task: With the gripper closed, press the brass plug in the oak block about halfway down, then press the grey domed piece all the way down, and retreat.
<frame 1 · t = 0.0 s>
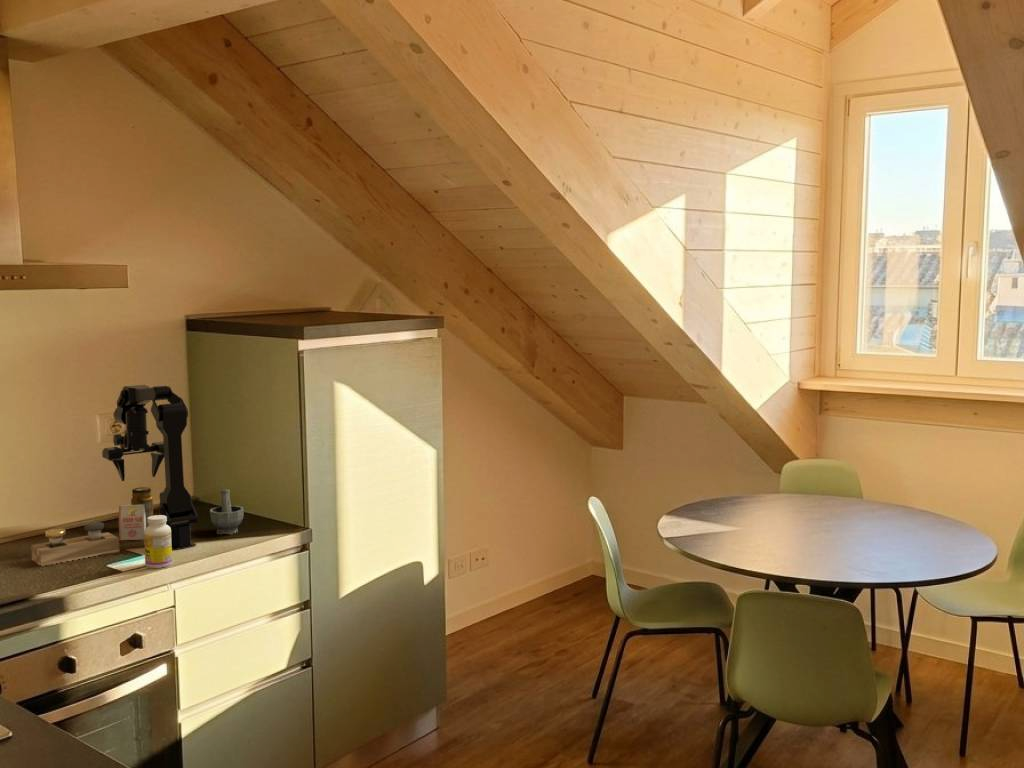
hand: (138, 478, 290), 15 cm above the counter, tool pointing down, fingers open, 9 cm apart
oak block: (76, 556, 261), on the counter
mortar and pestle: (227, 532, 287), on the counter
condiment: (143, 529, 290), on the counter
white printed box: (133, 540, 278), on the counter
supplement bottle: (158, 566, 253), on the counter
brass plug: (55, 538, 257), point 6 cm above the counter, slide at 0.0 cm
grey domed piece: (94, 532, 264), point 6 cm above the counter, slide at 0.0 cm
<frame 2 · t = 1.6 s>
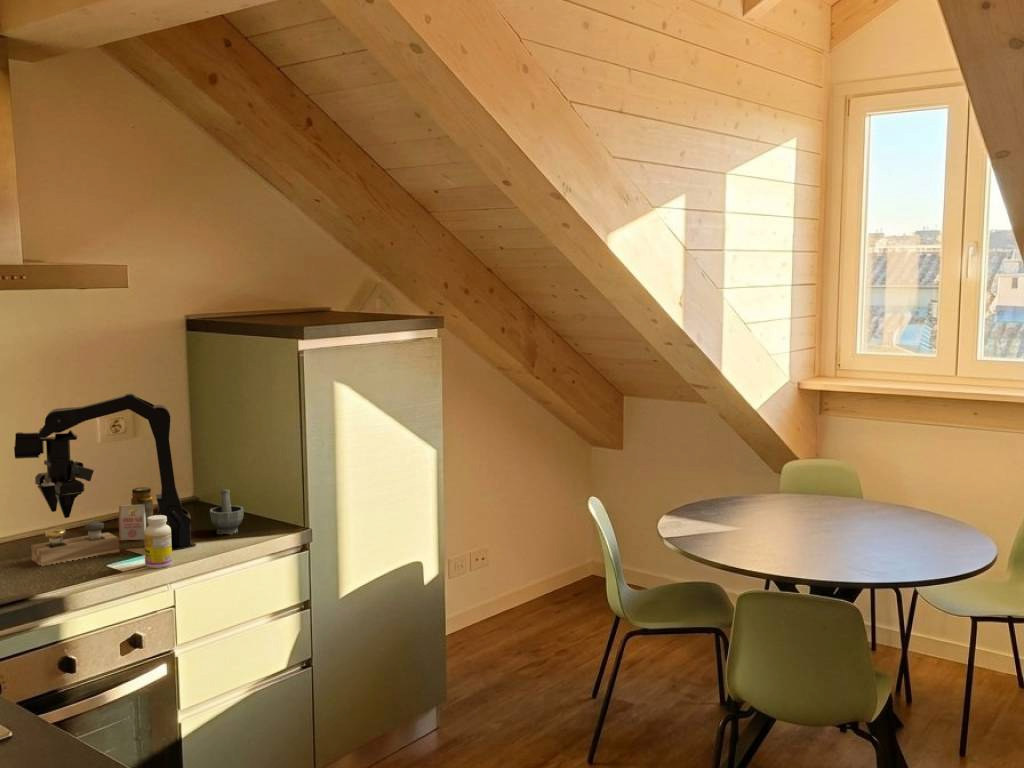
hand: (60, 514, 259), 12 cm above the counter, tool pointing down, fingers open, 9 cm apart
nothing on the counter moved.
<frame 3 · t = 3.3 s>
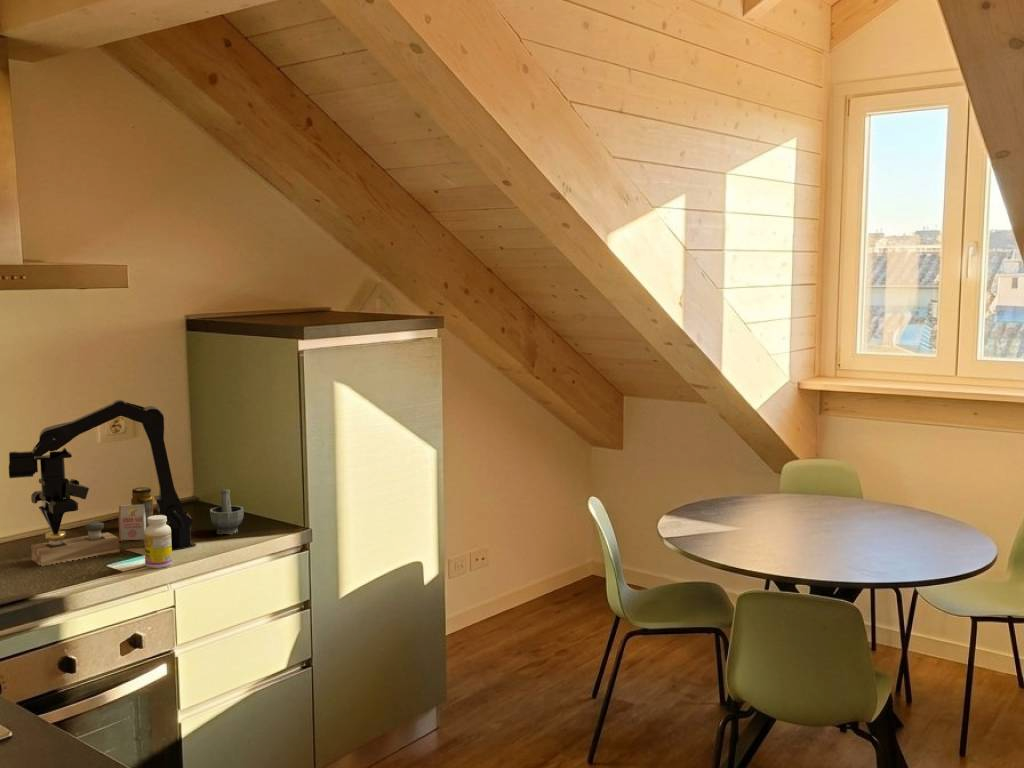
hand: (55, 533, 257), 7 cm above the counter, tool pointing down, fingers closed, pressing on brass plug
brass plug: (55, 540, 257), point 5 cm above the counter, slide at 0.6 cm, touching gripper
everything else where it was.
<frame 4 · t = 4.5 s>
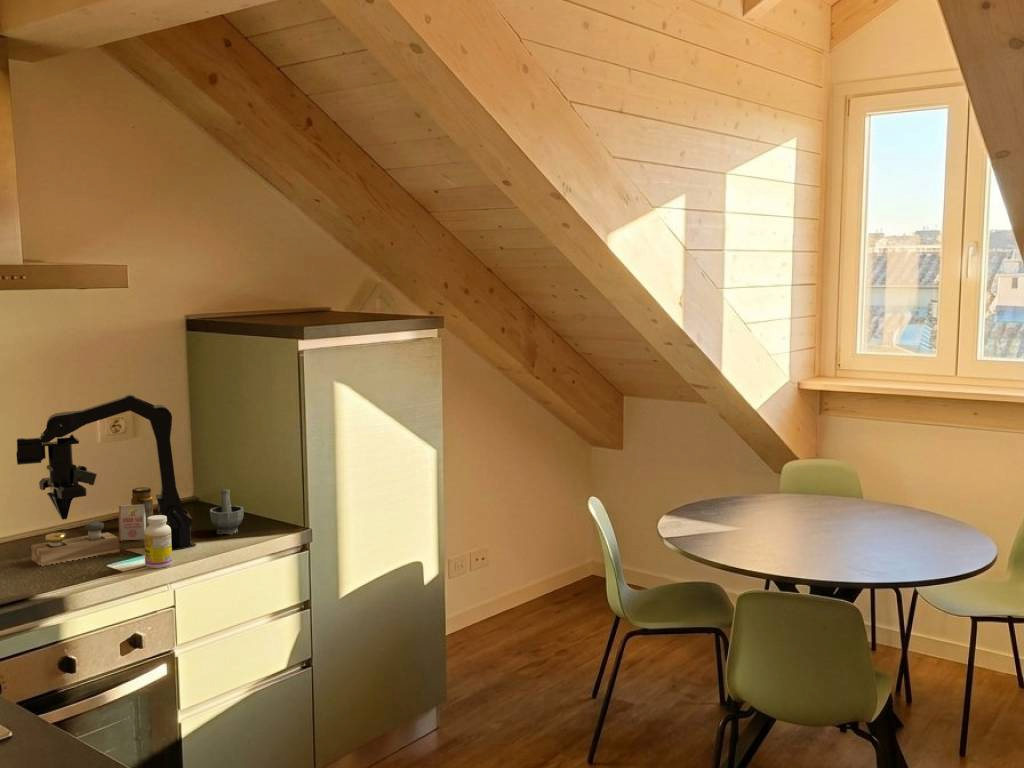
hand: (64, 519, 258), 11 cm above the counter, tool pointing down, fingers closed
brass plug: (56, 542, 257), point 5 cm above the counter, slide at 1.1 cm
everything else where it was.
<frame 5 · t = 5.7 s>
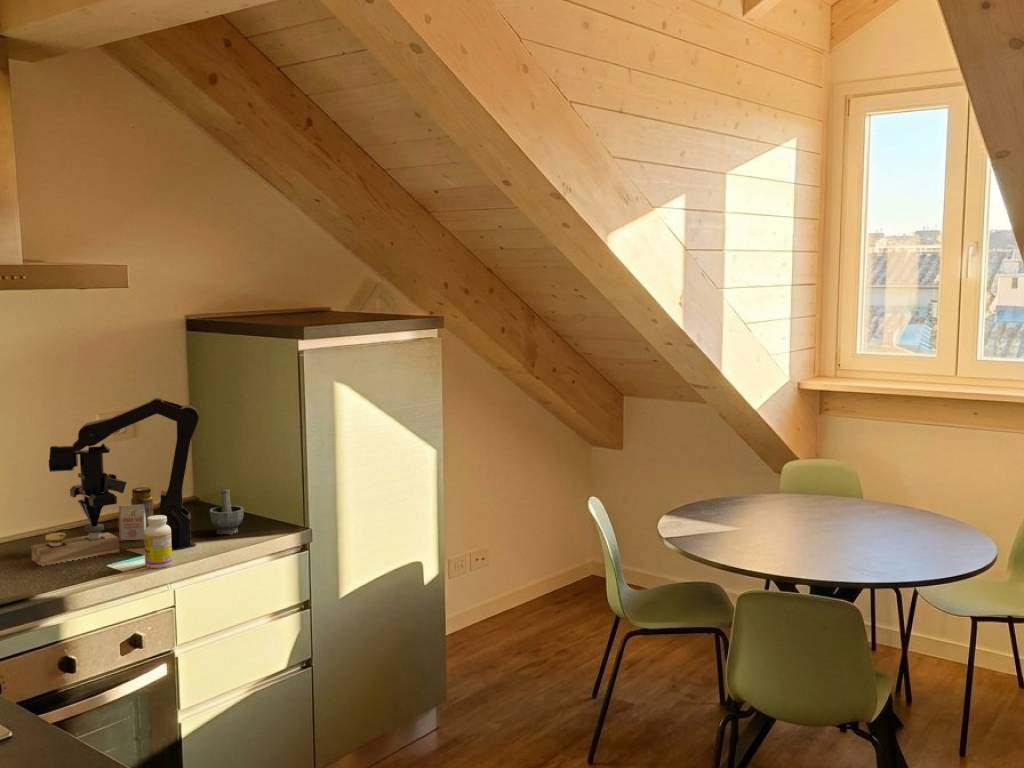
hand: (94, 526, 264), 7 cm above the counter, tool pointing down, fingers closed, pressing on grey domed piece
grey domed piece: (94, 533, 264), point 5 cm above the counter, slide at 0.4 cm, touching gripper
everything else where it was.
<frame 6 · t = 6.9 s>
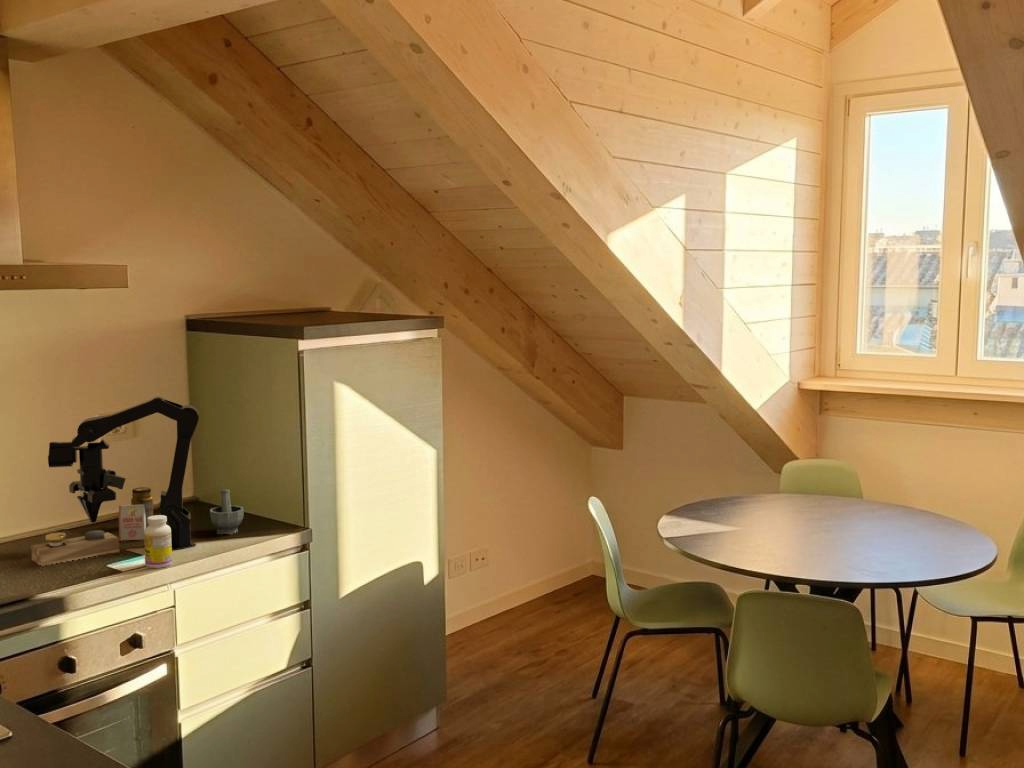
hand: (93, 522, 263), 8 cm above the counter, tool pointing down, fingers closed
grey domed piece: (94, 540, 264), point 3 cm above the counter, slide at 2.2 cm
everything else where it was.
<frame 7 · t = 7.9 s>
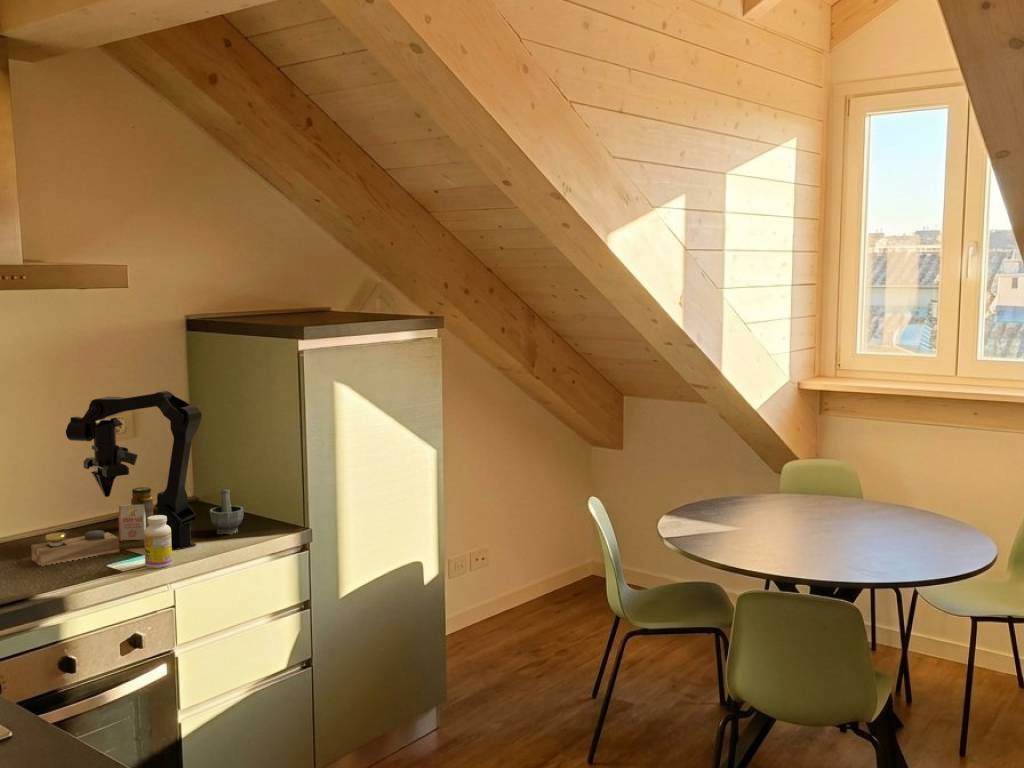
hand: (107, 496, 274), 13 cm above the counter, tool pointing down, fingers closed
nothing on the counter moved.
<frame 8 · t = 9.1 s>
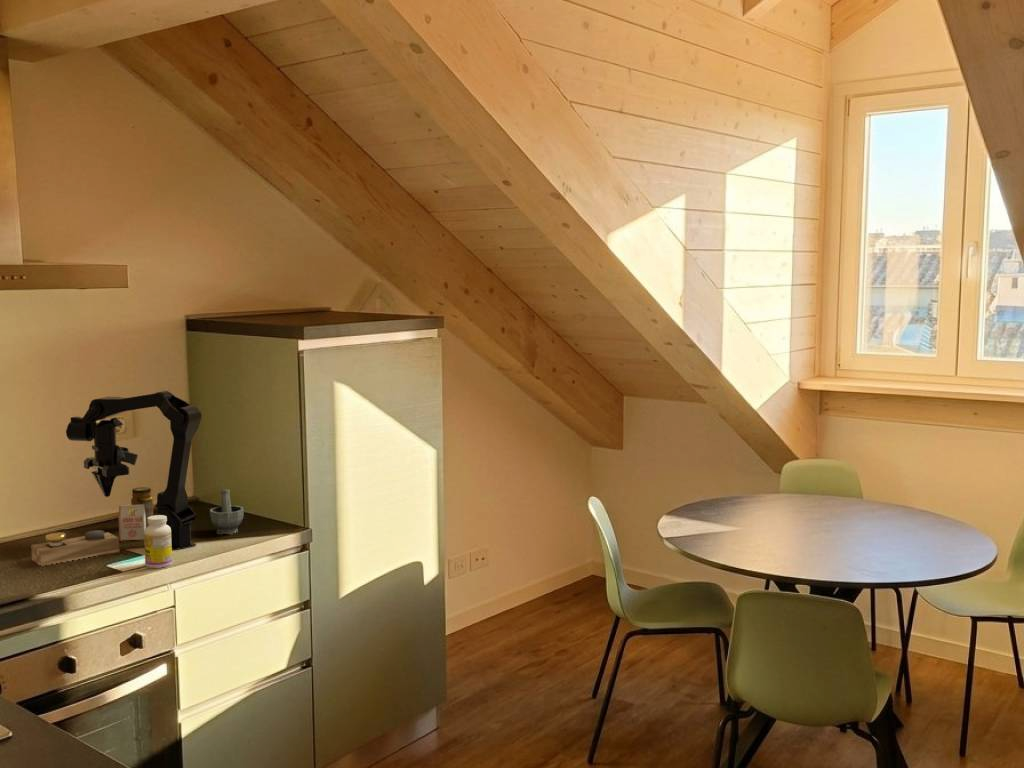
hand: (107, 496, 274), 13 cm above the counter, tool pointing down, fingers closed
nothing on the counter moved.
at the end: brass plug slide at 1.1 cm; grey domed piece slide at 2.2 cm; grey domed piece touching nothing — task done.
